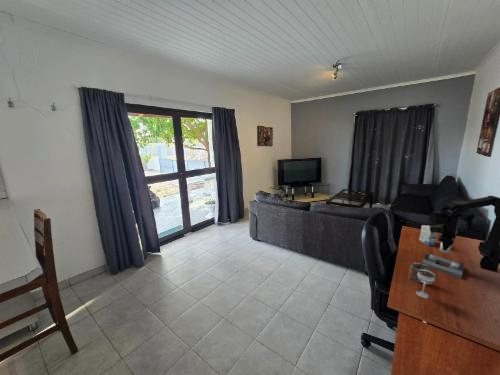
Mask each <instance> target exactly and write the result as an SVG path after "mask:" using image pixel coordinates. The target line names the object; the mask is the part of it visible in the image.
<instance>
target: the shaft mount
mask: <svg viewBox="0 0 500 375" xmlns="http://www.w3.org/2000/svg"><path fill="white" fill-rule="evenodd" d="M421 264H425V265H428V268H427V269H432V270H434V271H438V272H439V273H440V272H441V273H443V274H445V275H449V276H452V277H454V278H458V279H460V280H461V279H462V277H463V272H464V267H465V263H464V262H462V261H460V262H456V261H452V260H450V259H447V258H443V257H440V256H436V255H433V254H431V253H430V252H428V251H426V252H425V254H424V257H423V260H422V263H421ZM443 265H444V266H443ZM446 266H447V267H446Z"/></svg>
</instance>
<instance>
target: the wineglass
mask: <svg viewBox="0 0 500 375" xmlns="http://www.w3.org/2000/svg"><path fill="white" fill-rule="evenodd" d="M436 276H437V275H436V274H435V273H434V272H433V271H431V270H430V269H429V270H426V269H418V273H417V277H418V279H419V280H420V281H421V282H423V283H422V290H416V291H415V294H416V295H417V296H419V297H420V298H423V299H428V298H430V296H429V294H428V293H426V292H425V287H426V285H431V284H434V283H435V281H436Z"/></svg>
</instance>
